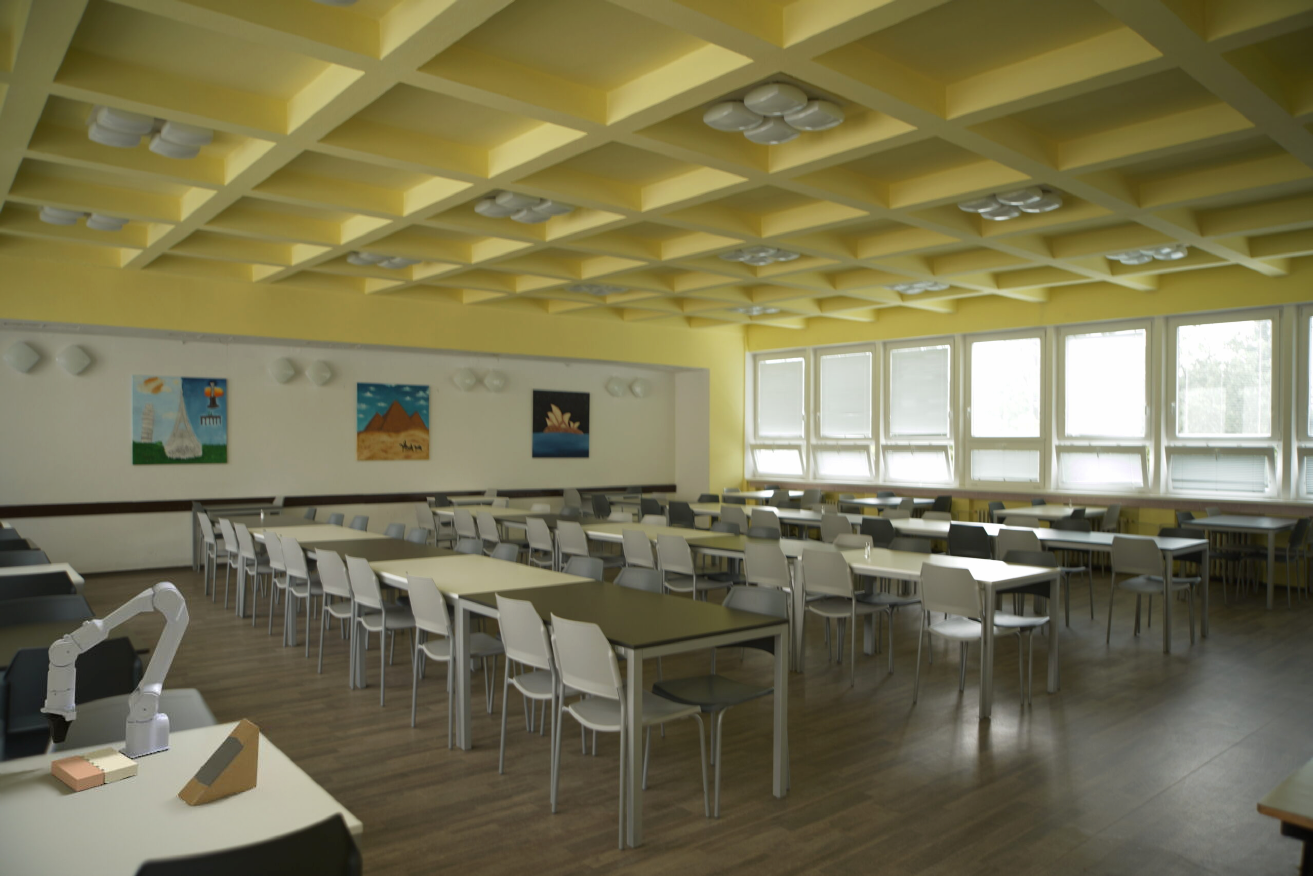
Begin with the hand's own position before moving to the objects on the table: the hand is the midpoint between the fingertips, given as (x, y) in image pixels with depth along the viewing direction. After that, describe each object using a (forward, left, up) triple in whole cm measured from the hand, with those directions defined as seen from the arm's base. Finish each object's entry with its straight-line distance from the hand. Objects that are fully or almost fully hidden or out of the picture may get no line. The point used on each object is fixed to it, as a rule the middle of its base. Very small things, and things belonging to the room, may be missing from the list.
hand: (58, 742), depth 211 cm
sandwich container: (-18, +43, -6) cm, 47 cm away
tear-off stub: (0, +13, -6) cm, 14 cm away
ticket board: (-7, +13, -6) cm, 15 cm away
